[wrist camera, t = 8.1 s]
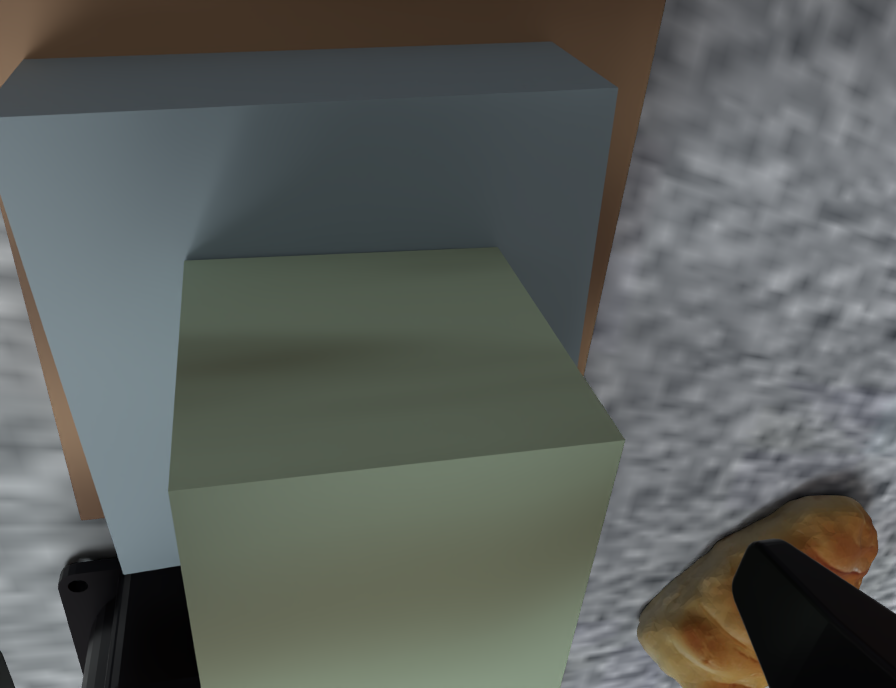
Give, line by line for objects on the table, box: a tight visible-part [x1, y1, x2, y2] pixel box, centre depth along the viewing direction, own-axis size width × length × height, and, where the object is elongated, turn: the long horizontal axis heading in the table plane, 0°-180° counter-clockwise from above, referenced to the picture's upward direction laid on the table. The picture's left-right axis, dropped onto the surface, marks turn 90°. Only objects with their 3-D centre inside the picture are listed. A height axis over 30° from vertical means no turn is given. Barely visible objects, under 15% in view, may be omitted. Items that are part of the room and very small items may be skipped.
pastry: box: [637, 495, 878, 688], centre depth 29 cm, size 9×7×4 cm
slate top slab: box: [0, 42, 618, 575], centre depth 15 cm, size 9×9×3 cm
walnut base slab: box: [0, 0, 666, 520], centre depth 17 cm, size 12×12×3 cm
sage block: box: [168, 247, 625, 688], centre depth 12 cm, size 5×5×5 cm
